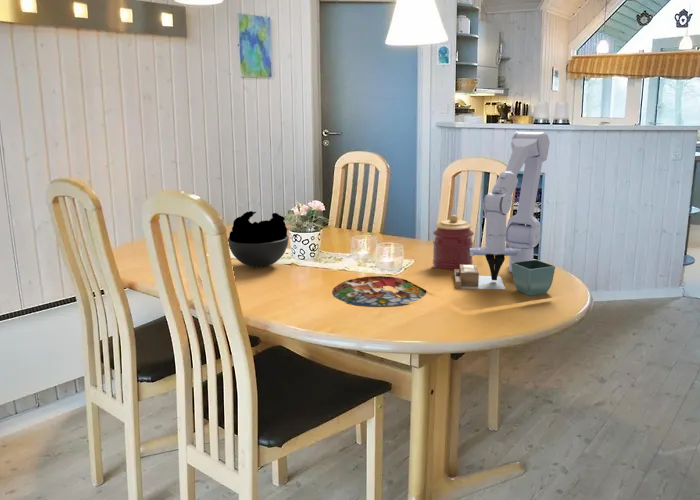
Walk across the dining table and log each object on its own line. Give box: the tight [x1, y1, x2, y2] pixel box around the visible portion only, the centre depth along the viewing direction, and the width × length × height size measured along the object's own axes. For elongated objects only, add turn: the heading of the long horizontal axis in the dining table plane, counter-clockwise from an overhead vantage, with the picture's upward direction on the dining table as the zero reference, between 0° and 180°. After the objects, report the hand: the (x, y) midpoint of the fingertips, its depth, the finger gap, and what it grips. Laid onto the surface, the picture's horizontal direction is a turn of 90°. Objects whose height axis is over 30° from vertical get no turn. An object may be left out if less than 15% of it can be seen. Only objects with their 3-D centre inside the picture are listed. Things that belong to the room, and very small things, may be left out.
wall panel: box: [453, 269, 506, 290], centre depth 194 cm, size 14×14×4 cm
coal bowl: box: [227, 210, 290, 268], centre depth 217 cm, size 20×20×19 cm
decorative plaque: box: [331, 275, 427, 307], centre depth 190 cm, size 30×3×30 cm
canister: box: [432, 214, 475, 271], centre depth 212 cm, size 13×13×18 cm
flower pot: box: [511, 259, 556, 296], centre depth 183 cm, size 9×9×9 cm
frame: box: [459, 264, 480, 287], centre depth 194 cm, size 10×5×4 cm, turn 173°
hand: (494, 279), depth 193 cm, fingers closed
